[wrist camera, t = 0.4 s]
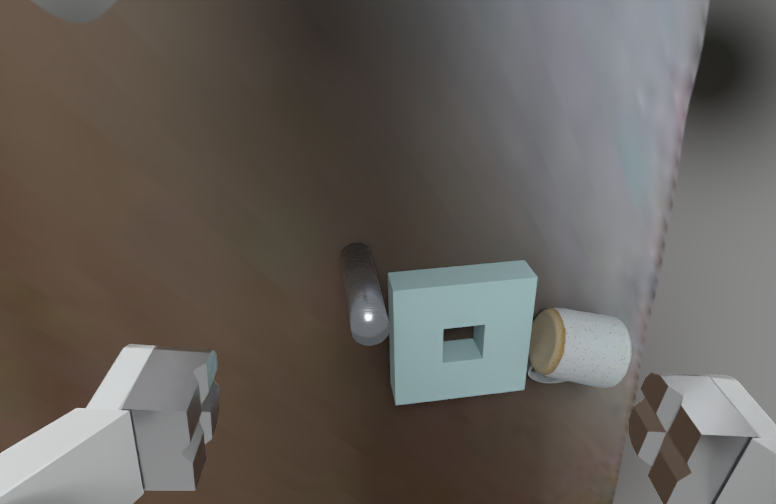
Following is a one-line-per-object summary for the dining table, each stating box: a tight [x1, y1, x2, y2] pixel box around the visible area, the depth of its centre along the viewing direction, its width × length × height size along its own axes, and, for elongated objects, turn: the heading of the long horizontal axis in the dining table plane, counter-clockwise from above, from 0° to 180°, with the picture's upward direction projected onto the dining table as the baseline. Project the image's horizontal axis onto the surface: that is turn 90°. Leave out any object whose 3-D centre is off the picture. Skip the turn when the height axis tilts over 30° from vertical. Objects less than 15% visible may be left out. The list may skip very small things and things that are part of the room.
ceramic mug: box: [527, 308, 632, 388], centre depth 58 cm, size 11×8×8 cm
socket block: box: [388, 260, 538, 405], centre depth 57 cm, size 14×14×4 cm
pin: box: [341, 243, 390, 346], centre depth 48 cm, size 3×3×12 cm
